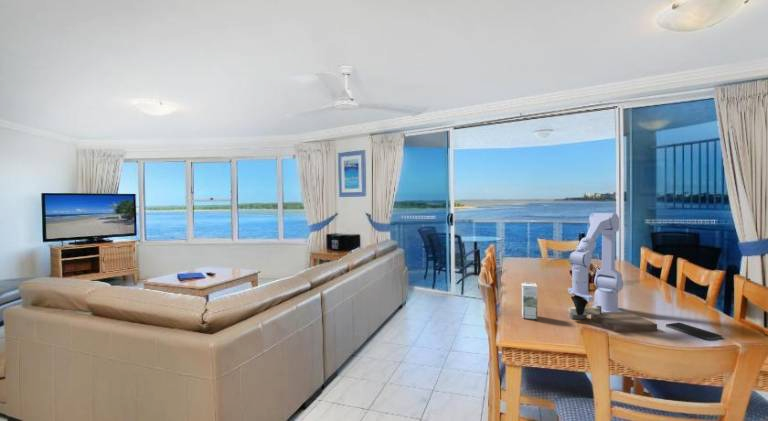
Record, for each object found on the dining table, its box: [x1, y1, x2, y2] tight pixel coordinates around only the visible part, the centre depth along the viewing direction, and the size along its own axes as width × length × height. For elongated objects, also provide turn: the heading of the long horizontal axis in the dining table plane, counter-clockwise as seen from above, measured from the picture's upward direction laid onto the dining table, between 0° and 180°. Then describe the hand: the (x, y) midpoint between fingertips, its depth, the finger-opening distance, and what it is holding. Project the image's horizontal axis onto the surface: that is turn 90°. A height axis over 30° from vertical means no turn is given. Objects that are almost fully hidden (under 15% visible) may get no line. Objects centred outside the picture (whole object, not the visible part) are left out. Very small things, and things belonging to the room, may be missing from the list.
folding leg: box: [566, 306, 602, 316], centre depth 147 cm, size 13×2×3 cm, turn 90°
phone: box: [665, 322, 723, 342], centre depth 133 cm, size 8×1×15 cm
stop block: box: [569, 314, 588, 320], centre depth 150 cm, size 2×6×4 cm, turn 91°
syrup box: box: [521, 282, 538, 321], centre depth 152 cm, size 6×6×14 cm
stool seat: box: [590, 311, 658, 333], centre depth 142 cm, size 15×16×2 cm
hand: (580, 314), depth 145 cm, fingers closed
